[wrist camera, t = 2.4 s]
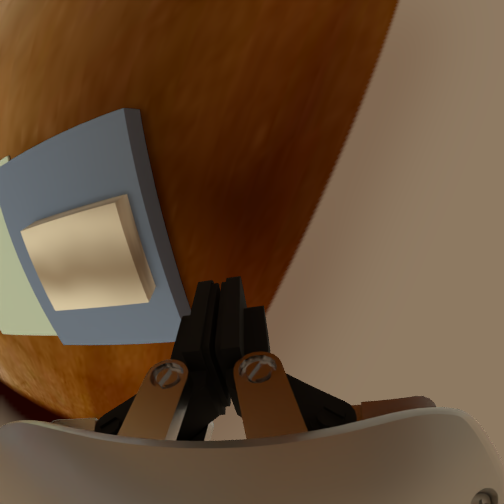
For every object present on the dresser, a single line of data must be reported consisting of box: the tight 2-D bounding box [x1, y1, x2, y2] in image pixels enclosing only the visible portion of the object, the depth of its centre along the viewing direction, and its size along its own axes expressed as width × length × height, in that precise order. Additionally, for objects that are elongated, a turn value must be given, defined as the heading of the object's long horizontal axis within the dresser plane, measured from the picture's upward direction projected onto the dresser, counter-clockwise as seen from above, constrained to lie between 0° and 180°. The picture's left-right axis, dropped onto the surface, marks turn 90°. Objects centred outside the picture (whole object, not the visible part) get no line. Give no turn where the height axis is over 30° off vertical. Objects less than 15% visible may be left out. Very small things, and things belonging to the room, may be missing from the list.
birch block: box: [20, 194, 156, 311], centre depth 17 cm, size 7×9×2 cm
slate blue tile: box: [0, 108, 191, 345], centre depth 19 cm, size 18×14×3 cm
